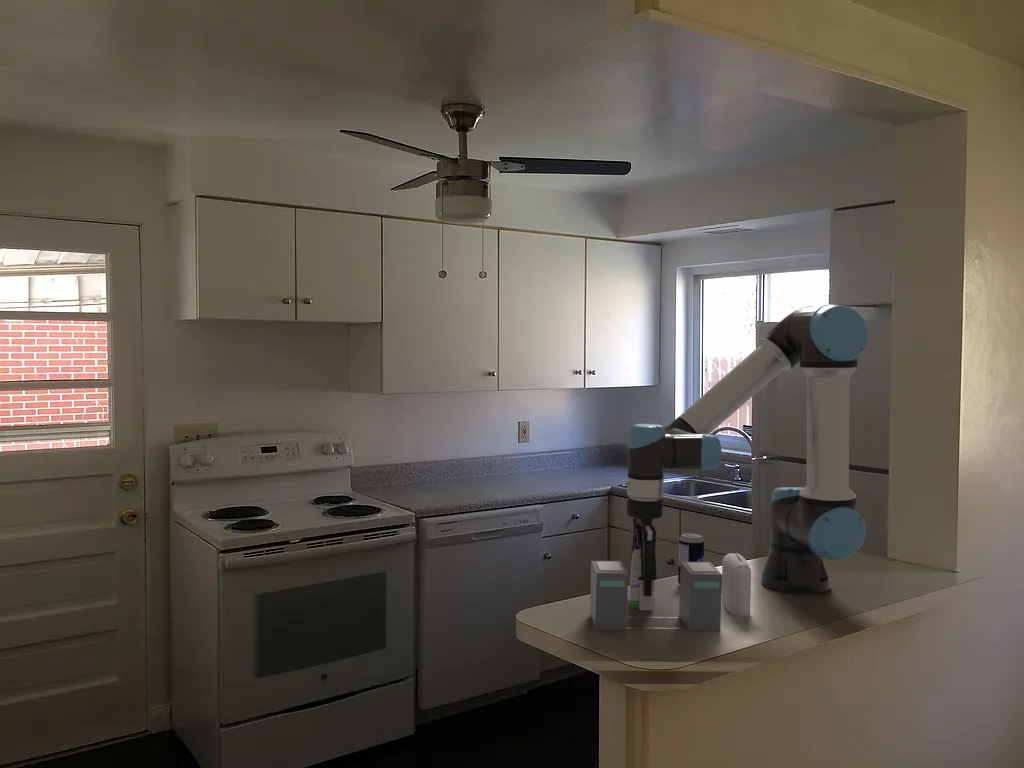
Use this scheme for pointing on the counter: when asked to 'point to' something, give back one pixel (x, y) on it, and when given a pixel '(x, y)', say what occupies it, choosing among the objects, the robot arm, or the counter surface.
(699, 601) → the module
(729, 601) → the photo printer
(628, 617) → the rail
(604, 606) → the module
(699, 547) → the beverage can
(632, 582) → the ink box
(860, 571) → the counter surface
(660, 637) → the counter surface
